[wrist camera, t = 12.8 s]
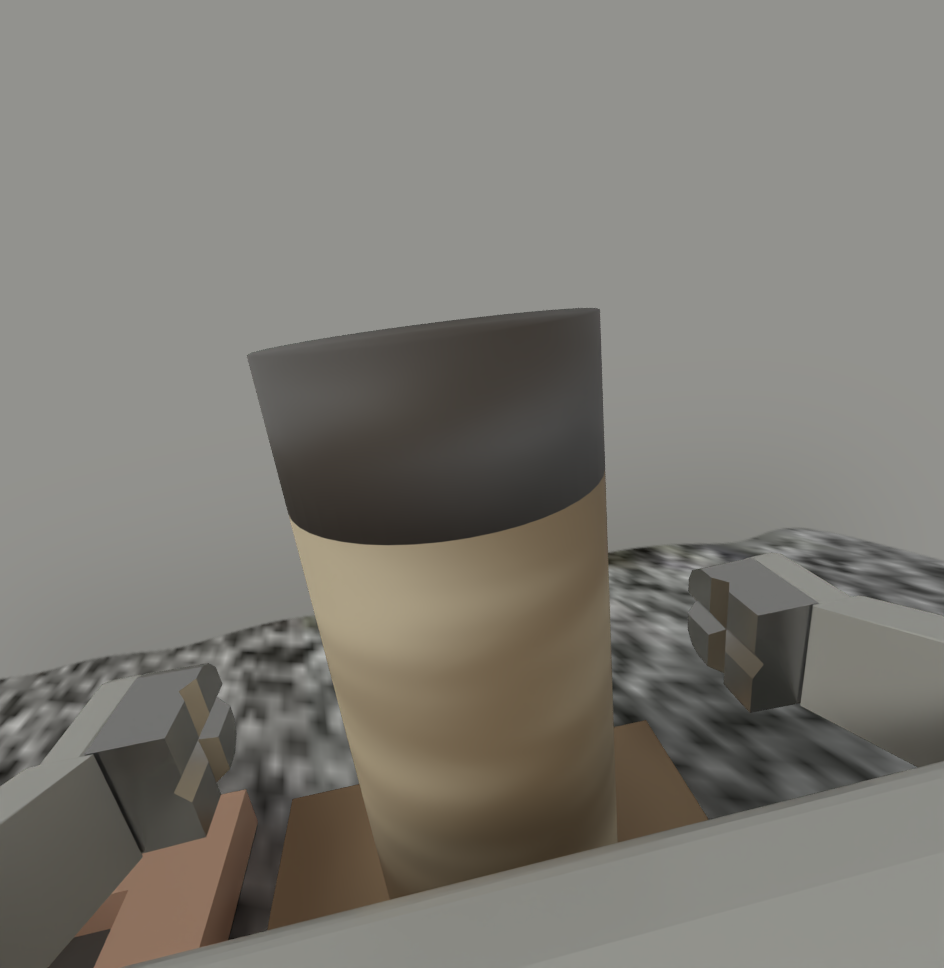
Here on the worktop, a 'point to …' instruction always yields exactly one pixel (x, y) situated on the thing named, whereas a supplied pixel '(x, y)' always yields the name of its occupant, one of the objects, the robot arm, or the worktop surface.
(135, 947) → the frame
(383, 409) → the beech tool handle
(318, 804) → the walnut board
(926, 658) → the robot arm
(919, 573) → the worktop surface
